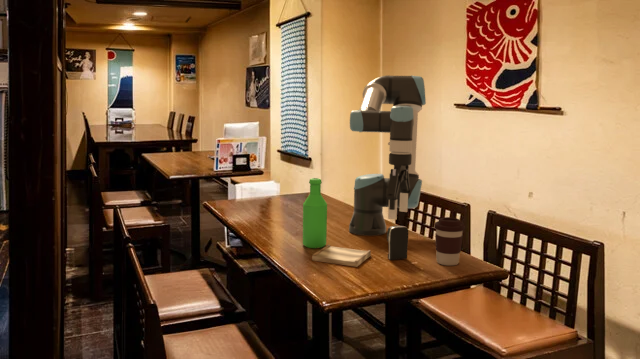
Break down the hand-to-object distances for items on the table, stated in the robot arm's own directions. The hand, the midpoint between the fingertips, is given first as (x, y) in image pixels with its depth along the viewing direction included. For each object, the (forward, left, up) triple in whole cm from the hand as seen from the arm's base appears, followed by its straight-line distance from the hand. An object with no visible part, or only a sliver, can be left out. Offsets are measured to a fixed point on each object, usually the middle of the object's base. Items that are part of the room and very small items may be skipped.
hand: (398, 215), depth 195 cm
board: (+8, -17, -15) cm, 24 cm away
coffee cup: (-3, +17, -15) cm, 23 cm away
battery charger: (0, 0, -15) cm, 15 cm away
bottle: (-2, -32, -15) cm, 35 cm away
